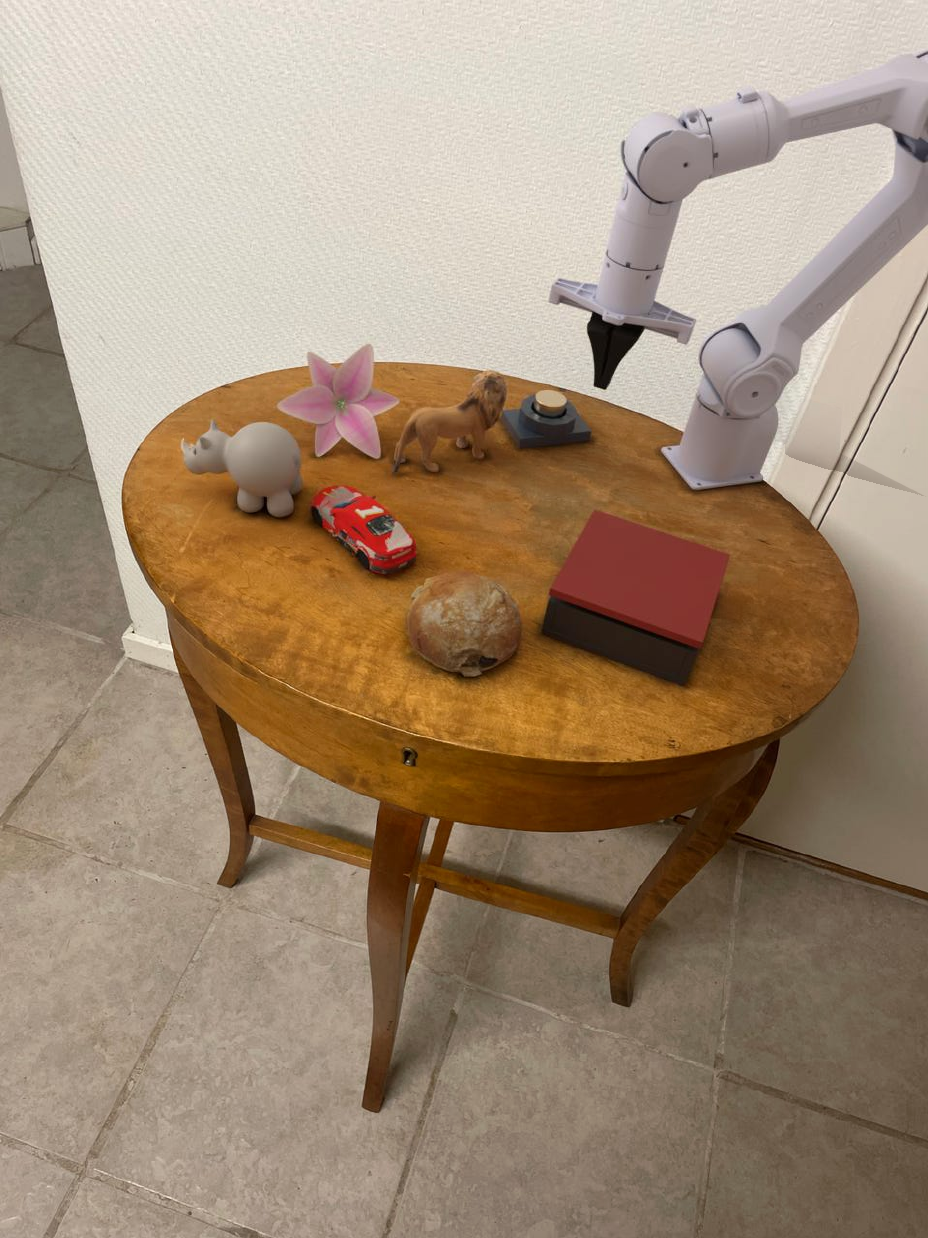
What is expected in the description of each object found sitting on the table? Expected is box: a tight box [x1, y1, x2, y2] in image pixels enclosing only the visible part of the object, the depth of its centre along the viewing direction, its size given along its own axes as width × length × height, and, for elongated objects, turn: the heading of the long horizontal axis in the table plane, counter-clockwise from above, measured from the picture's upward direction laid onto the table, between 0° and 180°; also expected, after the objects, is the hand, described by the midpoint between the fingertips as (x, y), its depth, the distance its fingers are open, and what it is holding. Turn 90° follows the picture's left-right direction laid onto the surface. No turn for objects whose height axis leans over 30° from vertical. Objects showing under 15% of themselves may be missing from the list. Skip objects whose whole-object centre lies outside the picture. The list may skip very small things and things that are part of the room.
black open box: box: [540, 595, 700, 687], centre depth 85 cm, size 14×14×4 cm
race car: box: [310, 484, 418, 575], centre depth 89 cm, size 13×5×4 cm, turn 39°
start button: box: [533, 389, 568, 419], centre depth 105 cm, size 4×4×2 cm
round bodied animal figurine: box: [180, 419, 303, 518], centre depth 90 cm, size 7×12×8 cm, turn 80°
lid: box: [548, 509, 731, 650], centre depth 83 cm, size 14×14×1 cm
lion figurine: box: [390, 369, 508, 474], centre depth 99 cm, size 15×5×9 cm, turn 130°
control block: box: [500, 393, 592, 449], centre depth 107 cm, size 9×6×3 cm
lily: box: [276, 343, 401, 460], centre depth 100 cm, size 12×12×10 cm
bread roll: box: [406, 570, 523, 678], centre depth 81 cm, size 10×10×8 cm
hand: (601, 384), depth 96 cm, fingers closed
